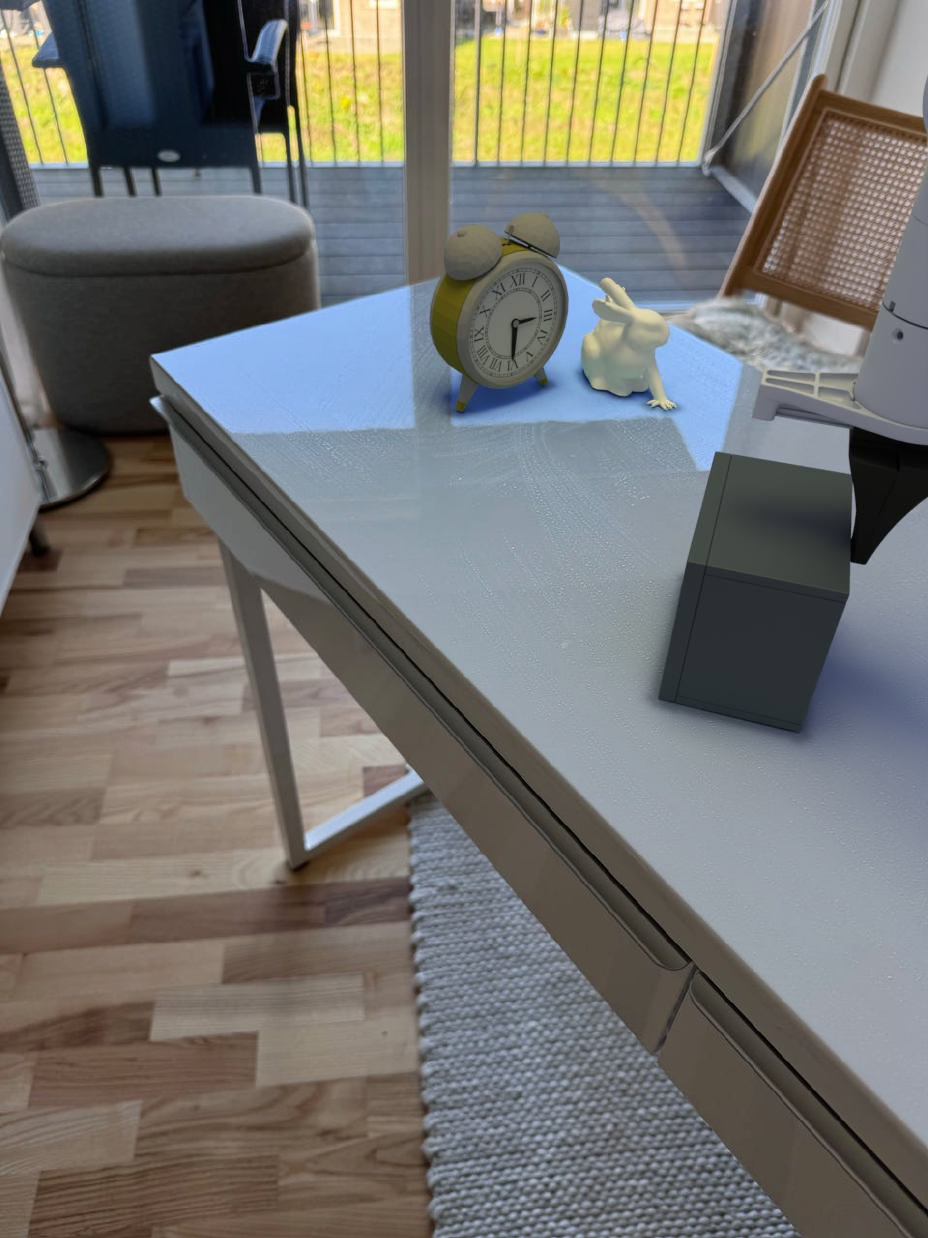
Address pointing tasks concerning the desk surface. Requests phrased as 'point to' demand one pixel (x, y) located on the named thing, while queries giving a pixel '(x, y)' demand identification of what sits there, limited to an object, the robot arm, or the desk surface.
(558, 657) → the desk surface
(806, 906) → the desk surface
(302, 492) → the desk surface
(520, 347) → the alarm clock
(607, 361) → the rabbit figurine
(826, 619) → the dark grey storage bin
